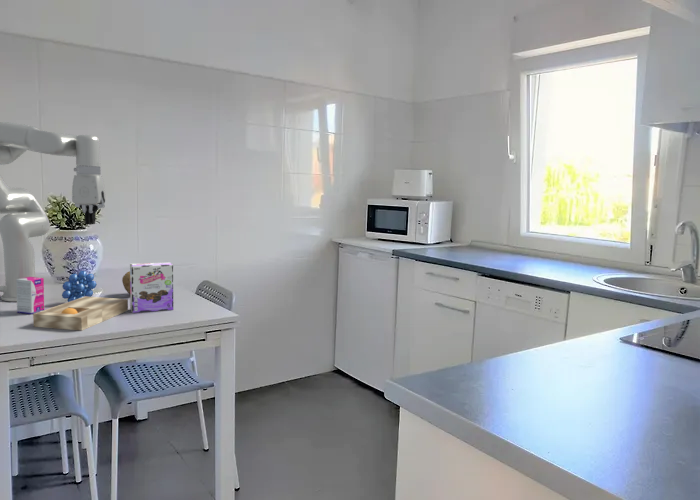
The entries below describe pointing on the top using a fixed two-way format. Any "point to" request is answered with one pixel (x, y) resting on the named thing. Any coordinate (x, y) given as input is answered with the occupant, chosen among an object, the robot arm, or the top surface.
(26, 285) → the supplement box
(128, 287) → the natural sponge
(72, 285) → the grapes
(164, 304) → the candy box
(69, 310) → the ball
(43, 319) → the wooden tray with pocket
